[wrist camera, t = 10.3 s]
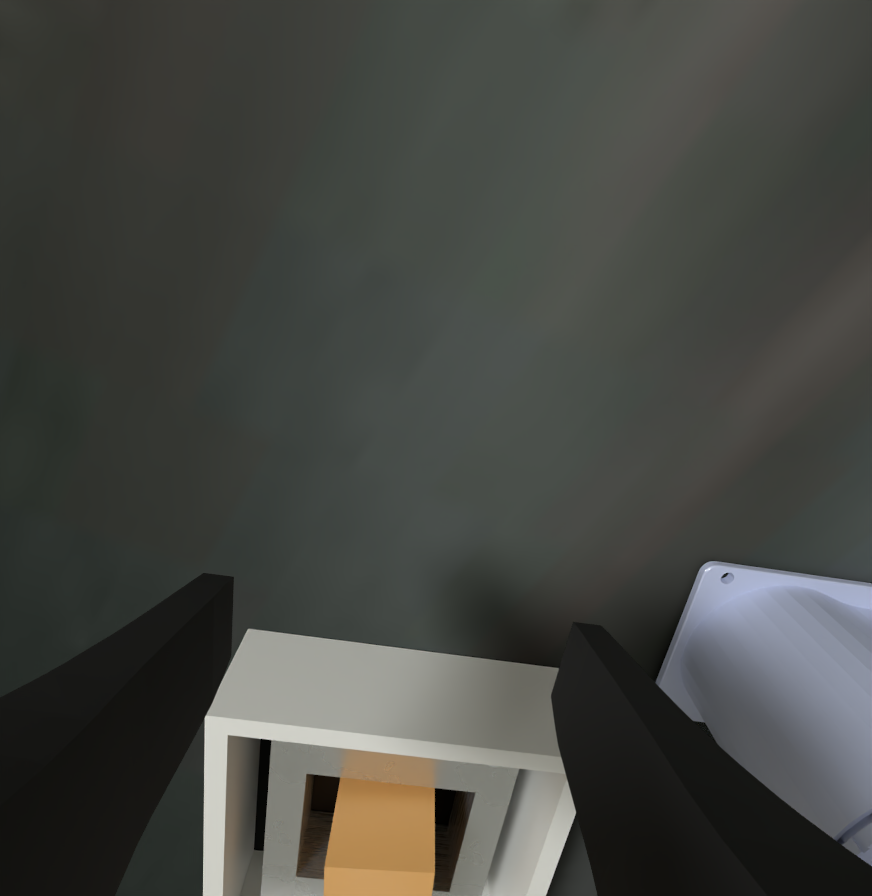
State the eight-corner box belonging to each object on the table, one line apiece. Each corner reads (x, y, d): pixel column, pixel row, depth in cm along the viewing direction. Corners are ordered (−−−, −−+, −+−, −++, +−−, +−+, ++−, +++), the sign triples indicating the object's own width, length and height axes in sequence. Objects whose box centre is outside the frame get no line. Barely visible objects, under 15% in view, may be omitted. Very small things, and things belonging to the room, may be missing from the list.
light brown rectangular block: (434, 731, 25) (434, 873, 19) (425, 805, 26) (423, 955, 21) (349, 726, 24) (324, 866, 19) (346, 800, 26) (321, 950, 21)
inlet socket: (509, 706, 24) (519, 766, 21) (470, 850, 27) (474, 919, 25) (291, 679, 23) (271, 737, 21) (278, 830, 27) (260, 898, 24)
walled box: (565, 669, 23) (594, 760, 19) (498, 885, 28) (509, 995, 24) (248, 628, 22) (205, 715, 18) (237, 858, 28) (202, 968, 23)
